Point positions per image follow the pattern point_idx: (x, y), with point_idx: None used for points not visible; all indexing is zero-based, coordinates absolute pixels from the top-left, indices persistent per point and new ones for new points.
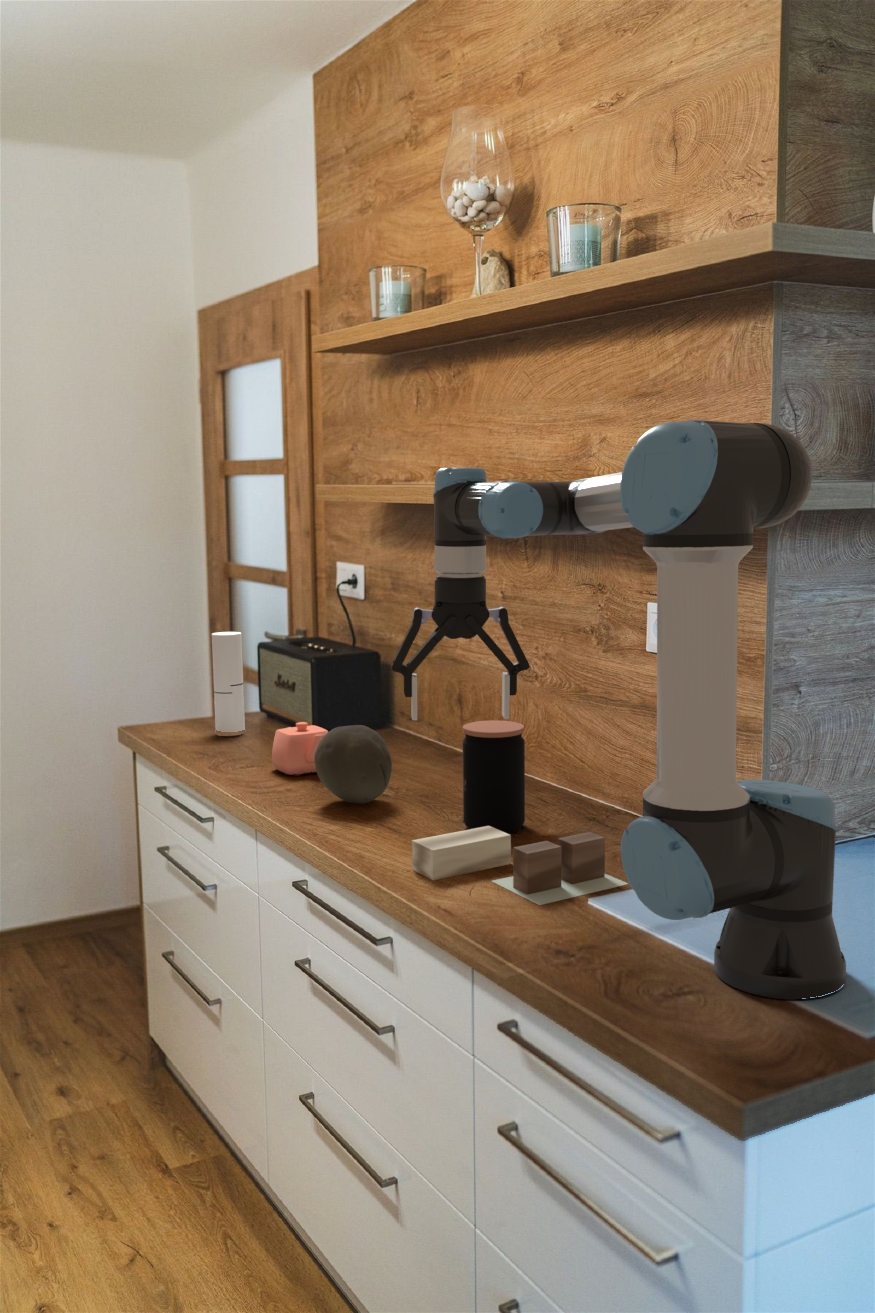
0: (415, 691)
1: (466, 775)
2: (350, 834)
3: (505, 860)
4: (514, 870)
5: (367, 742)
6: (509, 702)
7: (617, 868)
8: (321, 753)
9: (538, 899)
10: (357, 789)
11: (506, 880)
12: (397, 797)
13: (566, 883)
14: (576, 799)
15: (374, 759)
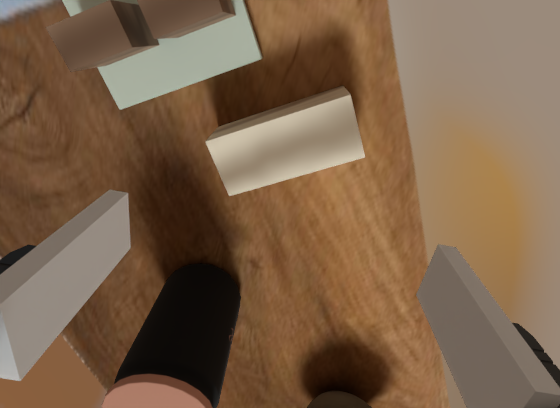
0: (499, 323)
1: (226, 343)
2: (379, 311)
3: (223, 128)
4: (229, 9)
5: None
6: (73, 218)
7: (67, 98)
8: None
9: None
10: (349, 399)
11: (238, 53)
12: (289, 403)
13: None
14: (91, 352)
15: None
